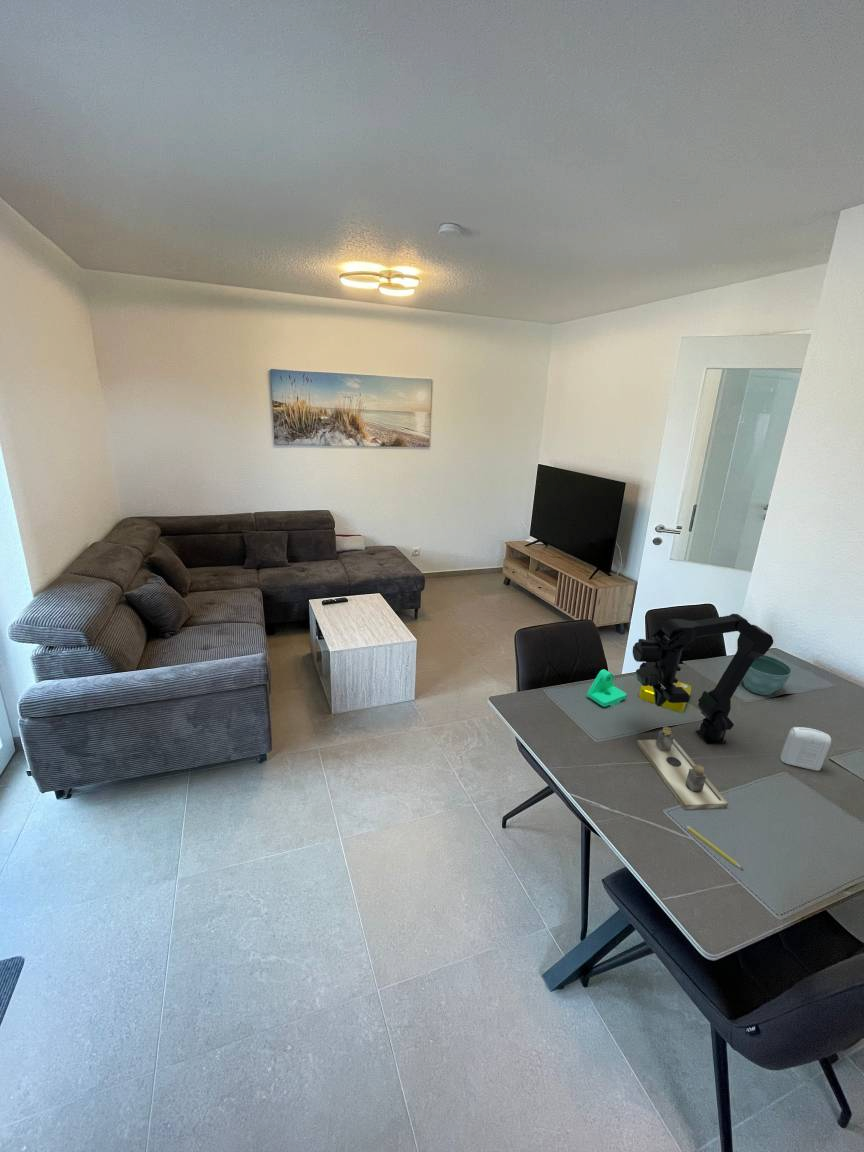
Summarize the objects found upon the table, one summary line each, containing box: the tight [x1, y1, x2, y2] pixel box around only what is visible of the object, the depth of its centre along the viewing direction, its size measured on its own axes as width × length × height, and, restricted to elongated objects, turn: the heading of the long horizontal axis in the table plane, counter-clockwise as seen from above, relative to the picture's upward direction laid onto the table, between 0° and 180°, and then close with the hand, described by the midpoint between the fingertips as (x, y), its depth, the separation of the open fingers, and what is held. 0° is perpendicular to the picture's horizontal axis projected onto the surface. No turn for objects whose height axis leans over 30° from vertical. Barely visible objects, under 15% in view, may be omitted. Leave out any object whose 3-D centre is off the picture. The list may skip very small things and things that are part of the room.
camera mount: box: [586, 668, 627, 707], centre depth 176 cm, size 12×8×10 cm, turn 121°
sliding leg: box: [656, 726, 675, 751], centre depth 150 cm, size 3×3×7 cm
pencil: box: [685, 825, 743, 869], centre depth 120 cm, size 1×14×1 cm, turn 32°
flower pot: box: [742, 654, 793, 696], centre depth 187 cm, size 16×16×11 cm
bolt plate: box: [636, 738, 729, 811], centre depth 142 cm, size 12×26×8 cm, turn 6°
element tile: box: [638, 680, 692, 713], centre depth 181 cm, size 15×15×5 cm
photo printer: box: [779, 726, 832, 772], centre depth 148 cm, size 10×4×12 cm, turn 72°
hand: (657, 705), depth 155 cm, fingers closed
